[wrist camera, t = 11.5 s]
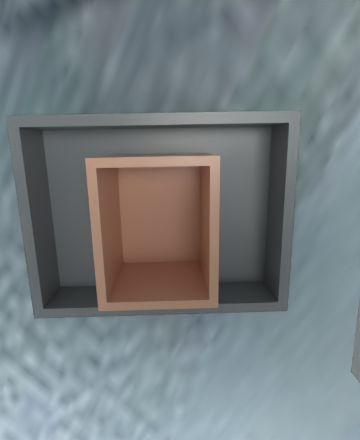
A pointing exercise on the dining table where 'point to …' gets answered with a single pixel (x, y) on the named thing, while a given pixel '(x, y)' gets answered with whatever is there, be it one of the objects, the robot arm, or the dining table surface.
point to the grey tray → (157, 144)
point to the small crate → (155, 230)
